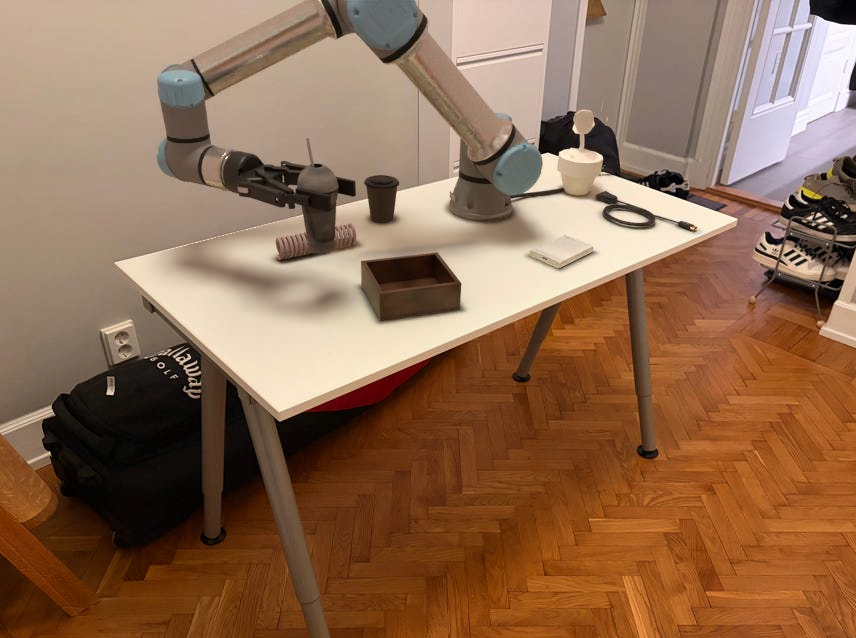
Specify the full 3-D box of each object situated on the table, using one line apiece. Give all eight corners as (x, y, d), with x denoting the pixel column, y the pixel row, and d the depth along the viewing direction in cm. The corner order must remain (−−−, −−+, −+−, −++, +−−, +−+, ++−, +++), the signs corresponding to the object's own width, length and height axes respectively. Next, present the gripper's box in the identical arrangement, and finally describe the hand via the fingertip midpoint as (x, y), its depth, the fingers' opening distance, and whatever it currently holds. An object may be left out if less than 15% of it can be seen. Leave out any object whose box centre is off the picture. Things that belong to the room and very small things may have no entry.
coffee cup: (373, 228, 165) (372, 186, 159) (359, 215, 170) (358, 174, 165) (405, 222, 168) (405, 181, 163) (390, 210, 174) (390, 169, 168)
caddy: (436, 277, 146) (437, 252, 143) (459, 309, 136) (461, 283, 133) (361, 286, 141) (360, 260, 138) (379, 320, 131) (379, 293, 128)
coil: (279, 244, 145) (360, 228, 153) (271, 234, 148) (351, 218, 156) (280, 264, 148) (360, 247, 156) (272, 253, 150) (350, 237, 159)
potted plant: (592, 203, 185) (609, 103, 171) (549, 195, 188) (561, 96, 174) (602, 187, 195) (618, 91, 181) (560, 180, 198) (573, 85, 184)
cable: (666, 244, 166) (667, 238, 165) (570, 207, 182) (571, 201, 181) (696, 230, 174) (698, 224, 173) (603, 195, 190) (604, 190, 189)
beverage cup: (338, 257, 129) (332, 146, 118) (297, 255, 129) (288, 144, 117) (344, 240, 135) (339, 133, 124) (305, 238, 135) (297, 131, 124)
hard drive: (564, 234, 164) (530, 249, 156) (593, 246, 159) (560, 262, 151) (563, 241, 165) (529, 256, 157) (592, 252, 160) (559, 269, 152)
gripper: (270, 175, 141) (372, 198, 134) (199, 209, 126) (310, 237, 118) (266, 136, 137) (371, 158, 130) (192, 167, 121) (307, 193, 114)
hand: (342, 195), depth 124 cm, fingers closed on beverage cup, 7 cm apart
